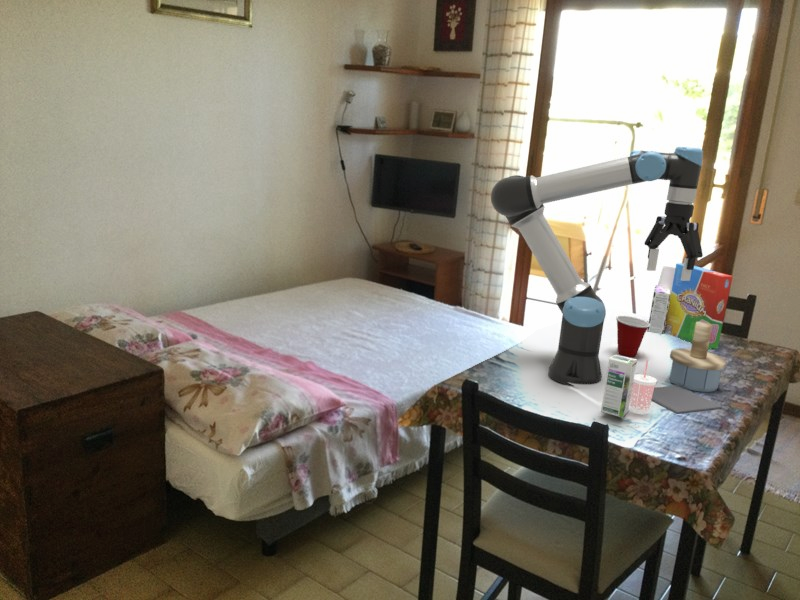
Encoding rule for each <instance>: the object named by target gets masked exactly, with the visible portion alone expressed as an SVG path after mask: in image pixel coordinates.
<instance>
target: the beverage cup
mask: <svg viewBox="0 0 800 600" xmlns="http://www.w3.org/2000/svg"><path fill="white" fill-rule="evenodd" d="M648 364H649V359H646V360H645V367H644V373H643V374H641V373H639V374H637V373H635V375H634V381H633V387H632V393H631V399H630V405H629V411H630V412H631V413H633V414H637V415H642V416H643V415H648V414H649V410H650V406H651V402H652V400H651V399H652V395H653V391H654V388H655V386H656V385H657V382H658V380H657V378H655V377H653V376H650V375H647V370H648Z"/></svg>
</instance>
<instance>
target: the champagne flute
mask: <svg viewBox="0 0 800 600" xmlns="http://www.w3.org/2000/svg"><path fill="white" fill-rule="evenodd" d="M675 268H676V267H673V266H662V268H661V269H662V270H661V272H660V276H659V281H658V284H657V285H658V287H660V288H664V289H669V290H671V291H672V285H673V279H674V274H675ZM670 296H671V294H670ZM669 302H670V300H669Z"/></svg>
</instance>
